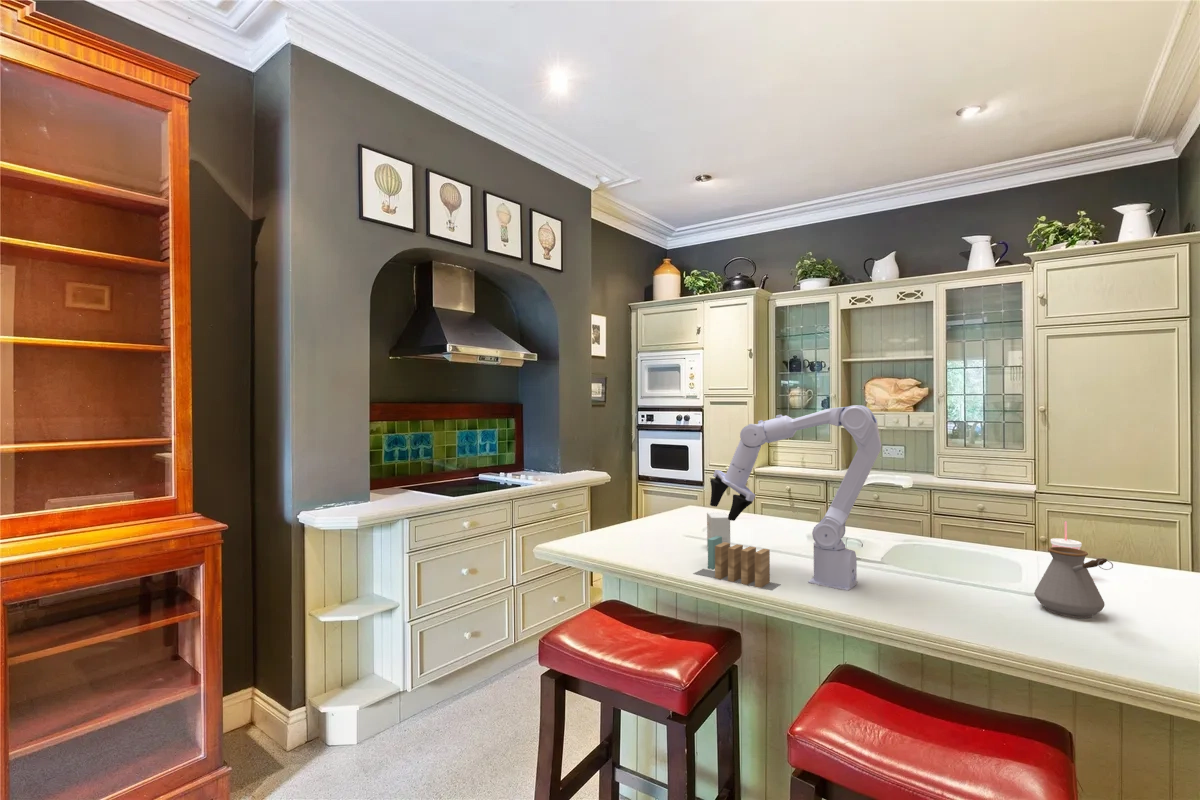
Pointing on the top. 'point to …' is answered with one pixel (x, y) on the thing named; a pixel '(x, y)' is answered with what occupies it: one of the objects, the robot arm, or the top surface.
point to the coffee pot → (1070, 584)
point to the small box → (718, 526)
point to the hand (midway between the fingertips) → (722, 512)
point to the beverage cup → (1066, 541)
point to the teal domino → (712, 550)
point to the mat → (712, 575)
